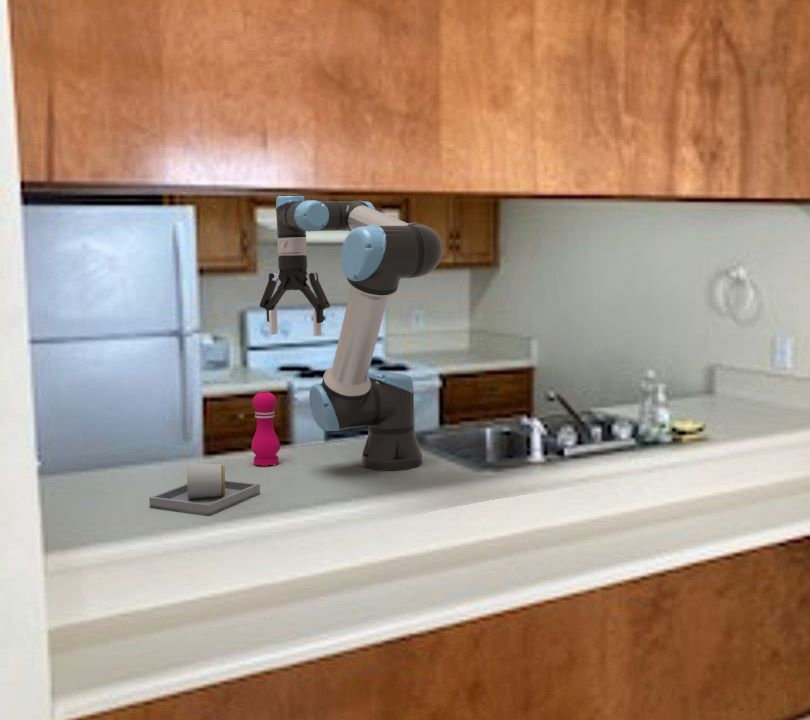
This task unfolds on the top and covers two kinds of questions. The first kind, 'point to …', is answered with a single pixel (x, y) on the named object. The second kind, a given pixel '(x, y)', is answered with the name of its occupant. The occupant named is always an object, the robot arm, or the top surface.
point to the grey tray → (204, 499)
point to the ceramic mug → (205, 480)
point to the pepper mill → (265, 429)
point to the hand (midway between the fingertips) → (295, 335)
